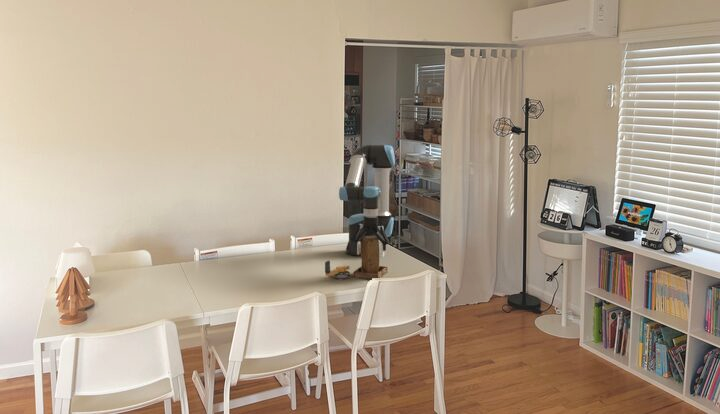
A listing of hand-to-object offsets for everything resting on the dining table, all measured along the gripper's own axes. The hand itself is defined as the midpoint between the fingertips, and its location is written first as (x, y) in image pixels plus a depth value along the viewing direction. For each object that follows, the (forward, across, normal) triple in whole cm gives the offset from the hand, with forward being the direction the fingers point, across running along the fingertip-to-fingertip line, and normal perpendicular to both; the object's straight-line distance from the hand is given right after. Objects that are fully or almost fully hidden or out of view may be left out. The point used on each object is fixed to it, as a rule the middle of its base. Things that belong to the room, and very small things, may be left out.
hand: (370, 255), depth 328 cm
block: (+10, -1, 0) cm, 10 cm away
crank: (+8, -14, -12) cm, 20 cm away
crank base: (+11, -14, -9) cm, 19 cm away
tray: (+11, 0, 0) cm, 11 cm away
